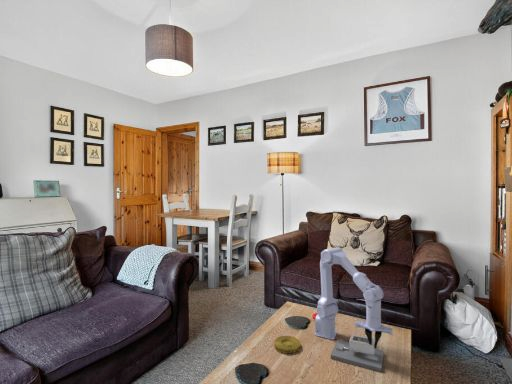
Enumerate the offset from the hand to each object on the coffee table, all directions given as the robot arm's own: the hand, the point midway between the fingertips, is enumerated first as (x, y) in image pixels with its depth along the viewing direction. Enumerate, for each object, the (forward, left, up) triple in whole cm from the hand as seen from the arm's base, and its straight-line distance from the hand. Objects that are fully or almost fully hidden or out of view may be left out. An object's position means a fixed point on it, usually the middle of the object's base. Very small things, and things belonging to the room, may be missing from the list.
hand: (373, 346), depth 122 cm
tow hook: (-30, +28, -6) cm, 42 cm away
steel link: (-4, 0, -2) cm, 5 cm away
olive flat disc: (-36, -7, -6) cm, 38 cm away
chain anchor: (-13, 0, -4) cm, 14 cm away
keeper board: (-6, 0, -6) cm, 9 cm away
